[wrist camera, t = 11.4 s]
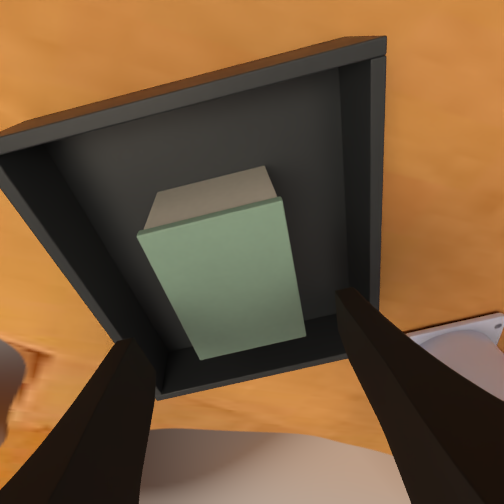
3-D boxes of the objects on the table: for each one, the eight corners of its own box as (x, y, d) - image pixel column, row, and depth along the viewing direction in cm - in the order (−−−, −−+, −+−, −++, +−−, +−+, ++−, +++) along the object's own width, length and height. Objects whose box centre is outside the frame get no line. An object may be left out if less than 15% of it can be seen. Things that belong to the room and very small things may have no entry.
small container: (289, 282, 18) (306, 336, 15) (202, 302, 18) (199, 360, 15) (266, 162, 14) (283, 200, 11) (153, 190, 14) (135, 236, 11)
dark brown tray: (355, 308, 20) (378, 352, 18) (164, 351, 21) (156, 401, 18) (345, 36, 12) (388, 34, 9) (24, 120, 12) (-33, 145, 9)
